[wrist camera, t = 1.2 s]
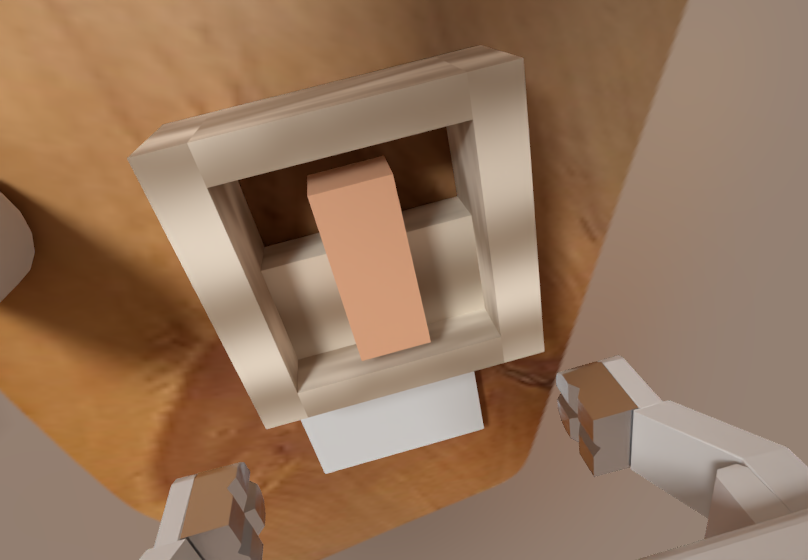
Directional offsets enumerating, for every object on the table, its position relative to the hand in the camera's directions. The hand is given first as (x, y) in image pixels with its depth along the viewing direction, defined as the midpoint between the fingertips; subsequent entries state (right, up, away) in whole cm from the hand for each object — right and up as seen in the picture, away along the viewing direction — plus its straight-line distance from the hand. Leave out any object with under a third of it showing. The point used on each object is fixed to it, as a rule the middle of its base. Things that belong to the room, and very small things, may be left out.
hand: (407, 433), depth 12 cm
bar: (-2, +5, +16) cm, 17 cm away
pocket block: (-3, +7, +19) cm, 20 cm away
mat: (-1, -6, +26) cm, 27 cm away
